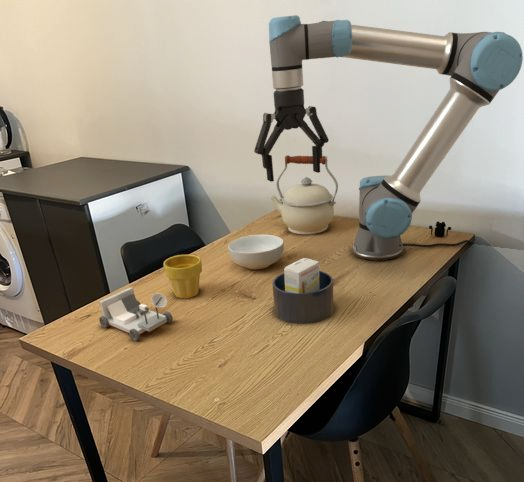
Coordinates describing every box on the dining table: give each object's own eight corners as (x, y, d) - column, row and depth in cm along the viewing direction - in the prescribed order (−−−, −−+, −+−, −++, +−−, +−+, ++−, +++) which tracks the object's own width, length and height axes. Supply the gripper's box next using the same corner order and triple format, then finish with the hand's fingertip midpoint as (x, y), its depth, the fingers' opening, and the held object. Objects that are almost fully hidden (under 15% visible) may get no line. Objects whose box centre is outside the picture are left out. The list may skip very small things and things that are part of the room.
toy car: (174, 290, 133) (137, 308, 126) (180, 325, 138) (145, 345, 131) (128, 275, 144) (91, 291, 136) (135, 308, 149) (100, 326, 141)
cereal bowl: (286, 253, 175) (285, 232, 172) (283, 274, 161) (281, 251, 158) (234, 255, 177) (232, 234, 174) (226, 276, 163) (223, 253, 160)
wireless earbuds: (427, 236, 179) (429, 221, 176) (429, 234, 181) (430, 219, 178) (450, 238, 176) (451, 223, 173) (451, 235, 178) (452, 220, 175)
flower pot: (212, 288, 157) (207, 255, 152) (193, 303, 149) (188, 269, 144) (181, 284, 161) (176, 252, 156) (161, 298, 153) (155, 266, 148)
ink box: (300, 316, 136) (298, 272, 130) (285, 311, 139) (282, 268, 133) (321, 303, 142) (320, 260, 136) (305, 299, 144) (304, 256, 138)
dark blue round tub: (316, 292, 149) (316, 264, 145) (344, 314, 137) (344, 285, 133) (265, 305, 145) (263, 277, 140) (289, 328, 132) (287, 299, 128)
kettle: (345, 222, 198) (345, 150, 185) (329, 239, 184) (328, 162, 171) (281, 218, 208) (277, 149, 195) (261, 234, 193) (255, 161, 181)
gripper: (326, 82, 142) (328, 166, 153) (236, 94, 135) (245, 181, 146) (340, 83, 136) (342, 170, 147) (246, 96, 129) (255, 187, 140)
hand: (293, 176), depth 146 cm, fingers open, 13 cm apart
